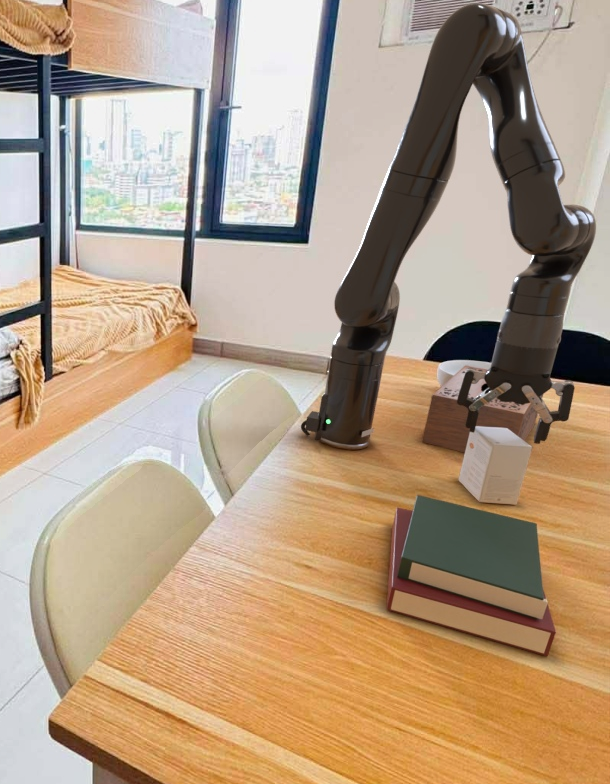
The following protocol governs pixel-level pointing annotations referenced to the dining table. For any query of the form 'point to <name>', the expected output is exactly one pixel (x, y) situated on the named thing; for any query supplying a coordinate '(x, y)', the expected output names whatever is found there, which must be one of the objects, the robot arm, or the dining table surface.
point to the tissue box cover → (451, 418)
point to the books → (470, 573)
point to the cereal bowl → (456, 368)
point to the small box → (494, 465)
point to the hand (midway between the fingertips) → (503, 436)
